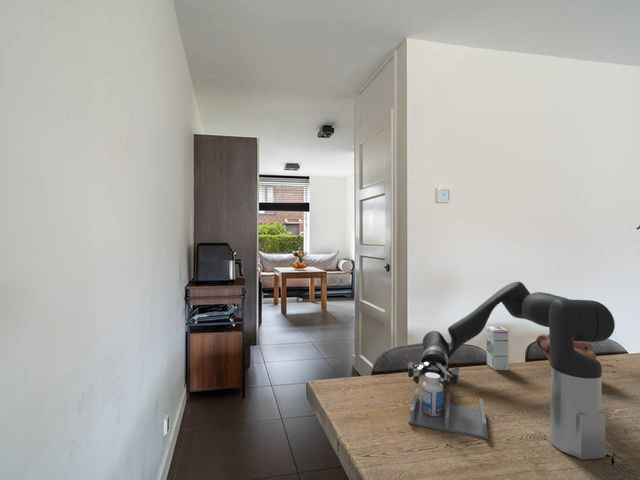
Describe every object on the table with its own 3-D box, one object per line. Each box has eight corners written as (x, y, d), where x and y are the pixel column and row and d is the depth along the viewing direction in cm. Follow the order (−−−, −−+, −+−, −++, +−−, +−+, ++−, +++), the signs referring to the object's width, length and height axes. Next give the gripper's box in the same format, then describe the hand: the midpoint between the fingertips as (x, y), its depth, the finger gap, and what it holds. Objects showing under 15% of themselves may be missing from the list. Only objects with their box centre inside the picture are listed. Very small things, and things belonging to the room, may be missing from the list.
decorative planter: (525, 366, 130) (525, 329, 130) (544, 361, 136) (544, 325, 136) (586, 387, 112) (587, 343, 112) (605, 380, 118) (606, 339, 118)
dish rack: (414, 400, 102) (414, 387, 102) (483, 412, 95) (484, 399, 95) (408, 423, 89) (408, 409, 89) (488, 439, 82) (488, 424, 82)
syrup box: (509, 370, 126) (509, 330, 126) (492, 370, 126) (493, 329, 126) (501, 364, 132) (501, 326, 132) (485, 364, 132) (486, 325, 132)
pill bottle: (439, 407, 96) (441, 372, 96) (444, 417, 90) (446, 379, 90) (419, 406, 96) (420, 370, 96) (423, 415, 91) (424, 378, 91)
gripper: (459, 377, 104) (460, 401, 88) (410, 370, 109) (402, 391, 94) (460, 352, 104) (460, 371, 88) (410, 346, 109) (402, 363, 94)
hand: (430, 382), depth 91 cm, fingers open, 6 cm apart
